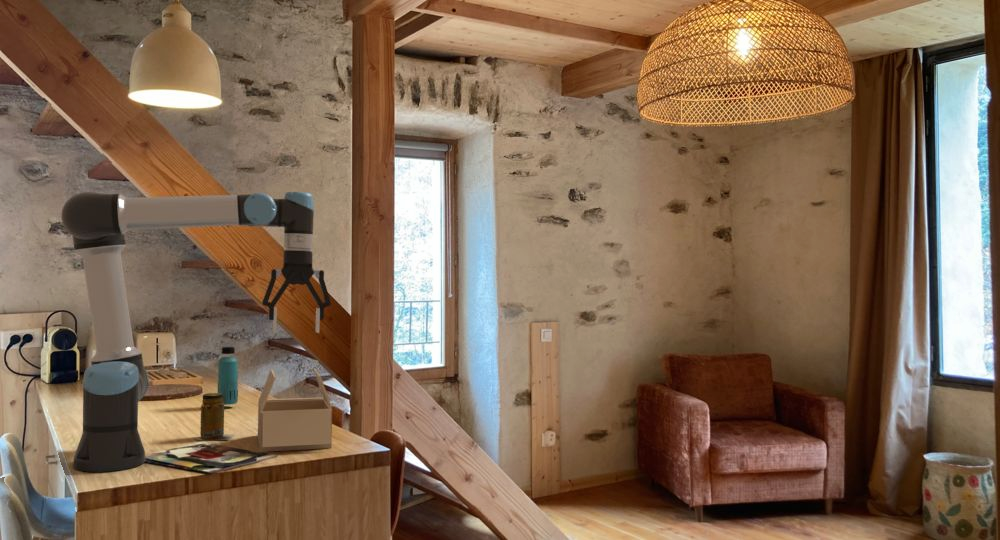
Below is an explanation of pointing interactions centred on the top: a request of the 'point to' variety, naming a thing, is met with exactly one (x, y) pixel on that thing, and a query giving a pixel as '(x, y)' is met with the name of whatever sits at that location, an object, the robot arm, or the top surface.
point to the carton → (290, 406)
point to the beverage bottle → (228, 377)
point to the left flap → (266, 389)
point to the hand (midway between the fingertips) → (296, 332)
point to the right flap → (322, 387)
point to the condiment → (212, 418)
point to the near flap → (296, 427)
